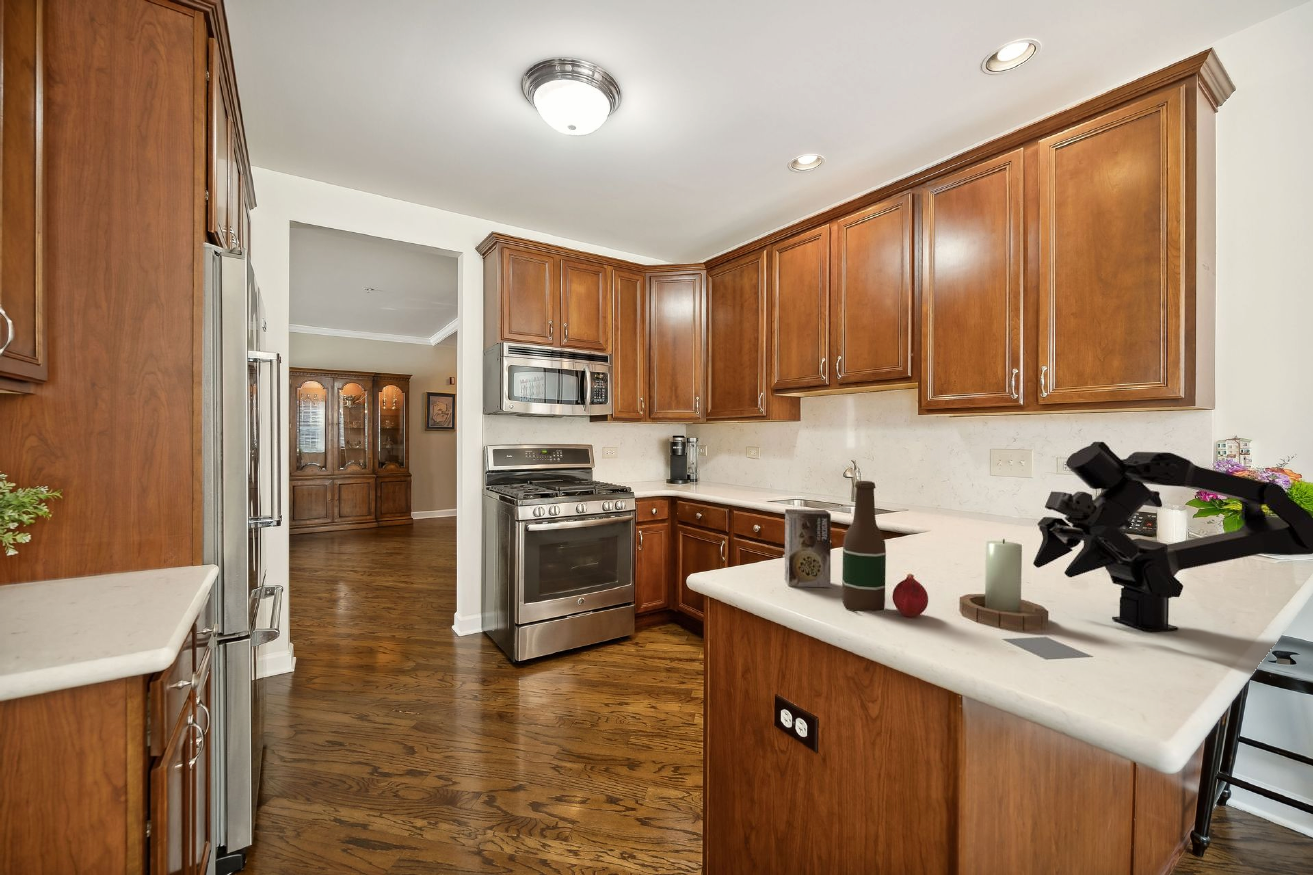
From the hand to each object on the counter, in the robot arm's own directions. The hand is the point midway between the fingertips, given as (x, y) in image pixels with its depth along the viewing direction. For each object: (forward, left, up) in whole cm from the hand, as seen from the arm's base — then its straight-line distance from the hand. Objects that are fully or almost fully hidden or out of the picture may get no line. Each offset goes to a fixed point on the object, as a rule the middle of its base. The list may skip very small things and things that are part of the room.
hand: (1050, 570), depth 98 cm
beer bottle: (+29, -12, -9) cm, 33 cm away
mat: (+13, +12, -9) cm, 20 cm away
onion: (+24, -5, -9) cm, 26 cm away
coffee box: (+32, -30, -9) cm, 45 cm away
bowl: (+8, -2, -9) cm, 12 cm away
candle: (+8, -2, -8) cm, 12 cm away
